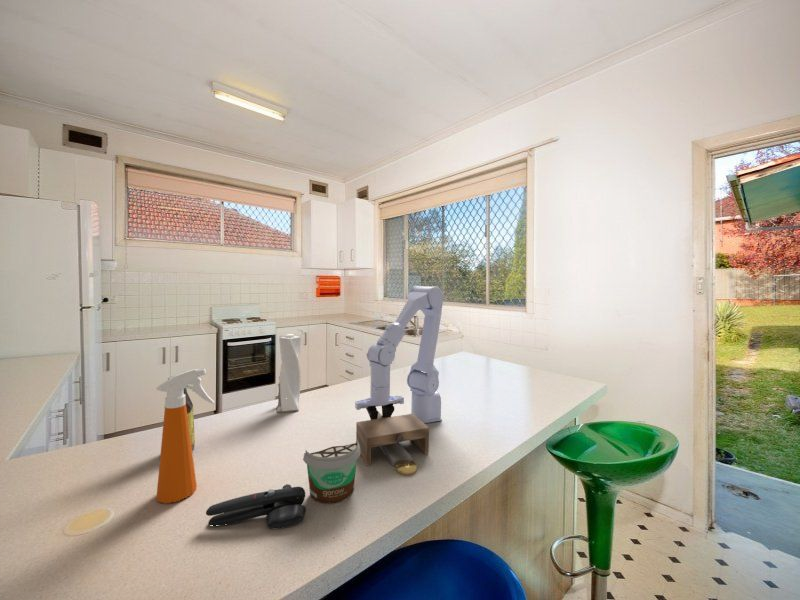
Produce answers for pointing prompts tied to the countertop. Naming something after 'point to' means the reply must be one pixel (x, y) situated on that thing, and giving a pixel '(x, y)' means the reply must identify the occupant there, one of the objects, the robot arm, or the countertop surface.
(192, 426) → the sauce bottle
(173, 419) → the spray bottle
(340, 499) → the food container
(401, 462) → the brass token
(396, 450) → the putty knife
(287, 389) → the skyscraper
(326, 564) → the countertop surface
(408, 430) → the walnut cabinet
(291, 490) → the can opener
